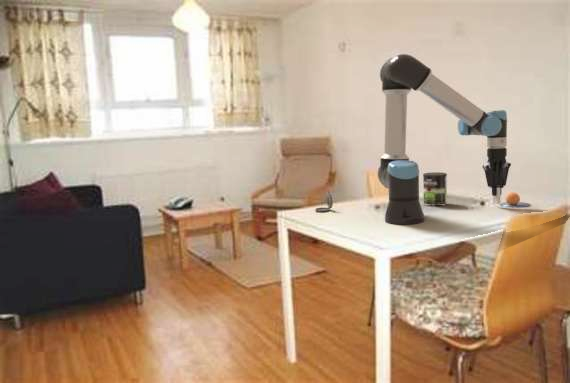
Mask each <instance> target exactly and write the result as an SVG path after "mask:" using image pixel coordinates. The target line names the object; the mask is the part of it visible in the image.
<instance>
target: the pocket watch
mask: <svg viewBox="0 0 570 383" xmlns="http://www.w3.org/2000/svg"><path fill="white" fill-rule="evenodd" d="M327 192H328V193H327V195H326V205H327V207H317V208H315V210H314V211H316V212H317V213H318V212H319V213H325V212H328V211H330V210H331V209H332V208H333V205H334V203H333V197H332V195H331V194H330V192H331V190H330V189H328V190H327Z"/></svg>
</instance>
